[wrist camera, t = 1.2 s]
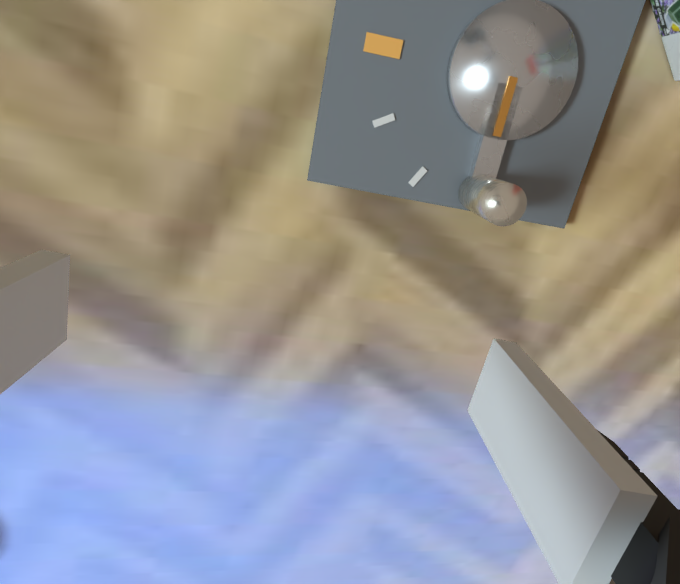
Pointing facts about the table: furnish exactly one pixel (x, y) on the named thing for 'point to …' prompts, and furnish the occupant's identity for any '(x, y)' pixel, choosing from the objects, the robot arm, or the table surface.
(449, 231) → the table surface
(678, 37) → the ink box
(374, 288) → the table surface
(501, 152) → the dial
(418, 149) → the panel
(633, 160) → the table surface
